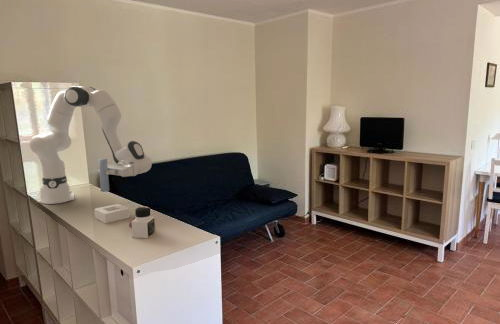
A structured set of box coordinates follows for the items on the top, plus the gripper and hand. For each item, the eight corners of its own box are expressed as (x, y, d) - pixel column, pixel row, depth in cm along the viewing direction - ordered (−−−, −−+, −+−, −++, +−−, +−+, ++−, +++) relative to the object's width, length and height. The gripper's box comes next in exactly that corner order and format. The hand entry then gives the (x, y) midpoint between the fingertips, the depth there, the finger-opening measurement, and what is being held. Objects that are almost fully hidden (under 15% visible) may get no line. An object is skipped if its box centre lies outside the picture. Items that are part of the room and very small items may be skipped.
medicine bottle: (148, 238, 142) (147, 210, 140) (132, 237, 143) (130, 209, 141) (155, 232, 149) (154, 205, 147) (139, 231, 150) (138, 205, 148)
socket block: (94, 217, 168) (94, 208, 168) (118, 212, 177) (118, 203, 176) (105, 223, 160) (104, 214, 159) (129, 217, 169) (129, 208, 168)
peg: (101, 190, 174) (98, 158, 171) (109, 189, 175) (107, 158, 172) (100, 192, 170) (97, 160, 167) (109, 191, 171) (106, 159, 169)
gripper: (112, 160, 187) (88, 164, 175) (137, 163, 176) (114, 167, 164) (113, 172, 188) (89, 176, 176) (138, 175, 177) (115, 180, 165)
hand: (102, 172), depth 170 cm, fingers closed on peg, 4 cm apart
